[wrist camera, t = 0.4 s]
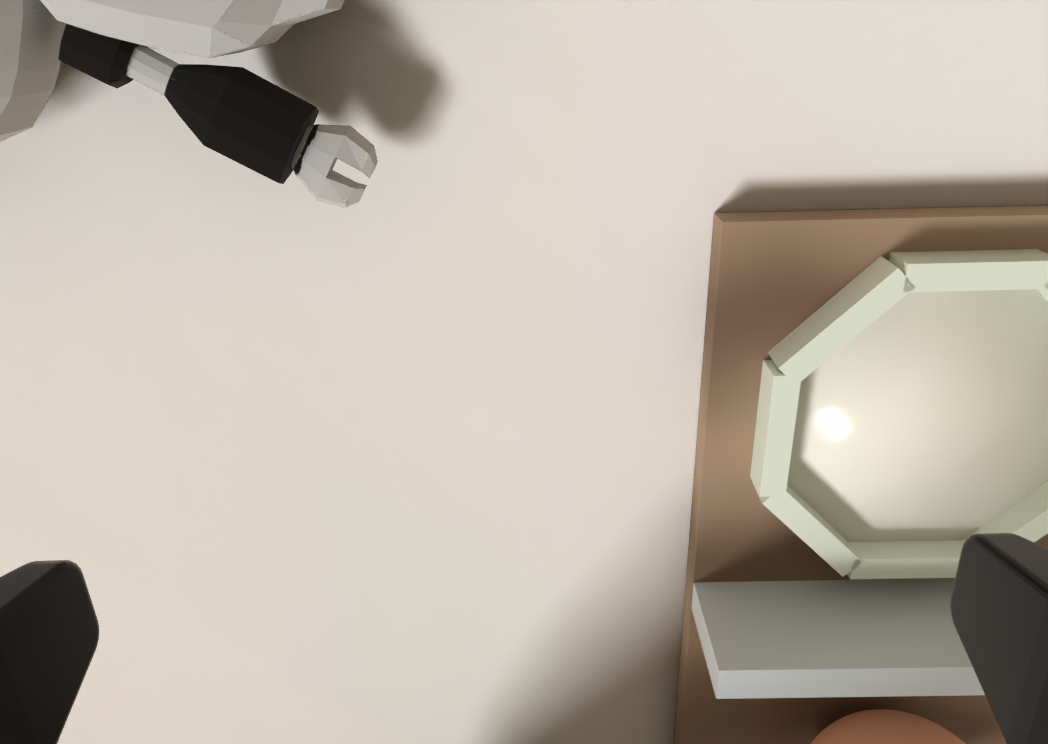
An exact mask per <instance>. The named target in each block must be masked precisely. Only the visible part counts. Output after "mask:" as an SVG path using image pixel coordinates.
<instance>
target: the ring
mask: <svg viewBox="0 0 1048 744" xmlns="http://www.w3.org/2000/svg"><path fill="white" fill-rule="evenodd" d="M767 353H768V354H769V356H770V357H771V359H772V360H763V365H762V374H761V383H760V392H759V401H758V410H757V419H756V428H755V437H754V446H753V455H752V464H751V473H750V478H751V480H752V482H753V485H754V488H755V490H756V492H757V494H758V496H759V498H760V500H761V502H762V504H763V505H764V506H765V507H767V508H768V509H769V510H770V511H771V512H772V513H773V514H774V515H775V516H776V517H778V518H779V519H780V520H781V521H782V522H783V523H784V524H785V525H786V526H787V527H788V528H790V529H791V530H792V531H793V532H794V533H795V534H796V535H797V536H798V537H799V538H801V539H802V540H803V541H804V542H805V543H806V544H807V545H808V546H809V547H810V548H812V549H813V550H814V551H815V552H816V553H817V554H818V555H819V556H820V557H821V558H823V559H824V560H825V561H826V562H827V563H828V564H829V565H830V566H831V567H832V568H833V569H835V570H836V571H837V572H838V573H839V574H840V575H841V576H842V577H844V576H845V575H846V574H847V575H848V577H849V579H907V578H955V577H956V572H957V568H958V563H959V559H960V554H961V550H962V546H963V544H964V542H965V540H966V539H967V538H968V537H969V536H971V535H973V534H985V533H1012V534H1016V535H1019V536H1021V537H1023V538H1025V539H1027V540H1030V541H1032V542H1036V541H1037V540H1039V539H1040V538H1042V537H1043V536H1045V535H1046V534H1048V254H1047V253H1045V252H1043V251H1040V250H1038V249H1018V250H973V251H929V252H890V257H889V261H888V260H886V259H885V258H883V257H882V256H881V257H879V258H878V259H877V260H876V261H875V262H873V263H872V264H871V265H870V266H869V267H868V268H866V269H865V270H864V271H863V272H862V273H860V274H859V275H858V276H857V277H856V278H855V279H853V280H852V281H851V282H850V283H849V284H848V285H846V286H845V287H844V288H843V289H842V290H840V291H839V292H838V293H837V294H836V295H835V296H833V297H832V298H831V299H830V300H829V301H827V302H826V303H825V304H824V305H823V306H822V307H820V308H819V309H818V310H817V311H816V312H815V313H813V314H812V315H811V316H810V317H809V318H807V319H806V320H805V321H804V322H803V323H802V324H800V325H799V326H798V327H797V328H796V329H794V330H793V331H792V332H791V333H790V334H789V335H787V336H786V337H785V338H784V339H783V340H782V341H780V342H779V343H778V344H777V345H776V346H774V347H773V348H772V349H771V350H770V351H769V352H767Z"/></svg>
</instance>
